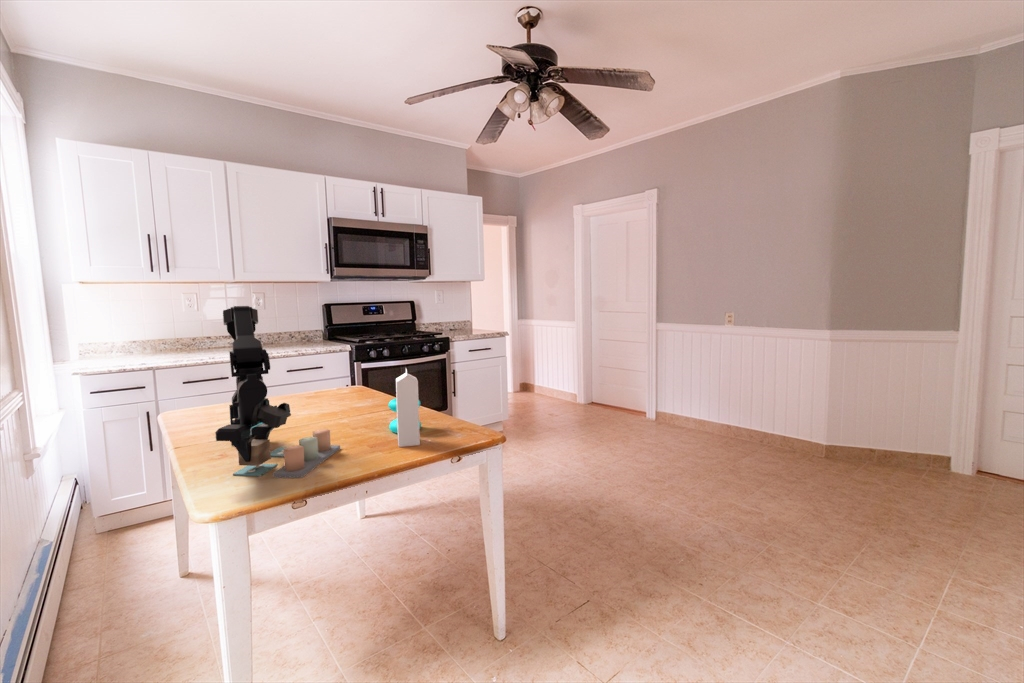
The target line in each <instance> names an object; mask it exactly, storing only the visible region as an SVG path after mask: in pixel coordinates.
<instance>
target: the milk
mask: <svg viewBox="0 0 1024 683" xmlns="http://www.w3.org/2000/svg"><path fill="white" fill-rule="evenodd" d="M395 392H396V393H395V396H396V402H397V412H396V419H397V431H398V433H397V444H398V448H401V447H412V446H413V447H414V446H420V445H421V444H420V443H421V442H420V441H421V438H420V434H421V432H420V429H419V421H420V411H419V410H420V407H419V400H420V399H419V380H418V378H417V377H416V376H414V375H413V374H410V373H408V369H407V368H405V372H404V373H403V374H401V375H400V376H398V377H396V378H395Z"/></svg>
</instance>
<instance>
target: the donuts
mask: <svg viewBox="0 0 1024 683" xmlns="http://www.w3.org/2000/svg"><path fill="white" fill-rule="evenodd" d="M421 404H422V403H421V400H420V399H419V408H420V407H421ZM388 408H389V410H391V411H392V412H395V413H397V402H396V398H393V399H391V400H390V401H389V402H388ZM421 427H422V423H421V421H420V420H419V430H420V429H421ZM388 428H389V430H390V431H391V432H392V433H394V434H398V431H397V418H395V419H393V420H392V421H390V423H389V427H388Z"/></svg>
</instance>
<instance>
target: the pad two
mask: <svg viewBox="0 0 1024 683" xmlns="http://www.w3.org/2000/svg"><path fill="white" fill-rule="evenodd" d="M277 466H278V464H277V463H263V464H261V465H259V466H244V467H242V468H240V469H238V470H237V471H235V472H234V473H232V476H237V477H238V476H246V477H247V476H248V477H261V476H264V475H265V474H266V473H268V472H269V471H271V470H272V469H274V468H275V467H277Z"/></svg>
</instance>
